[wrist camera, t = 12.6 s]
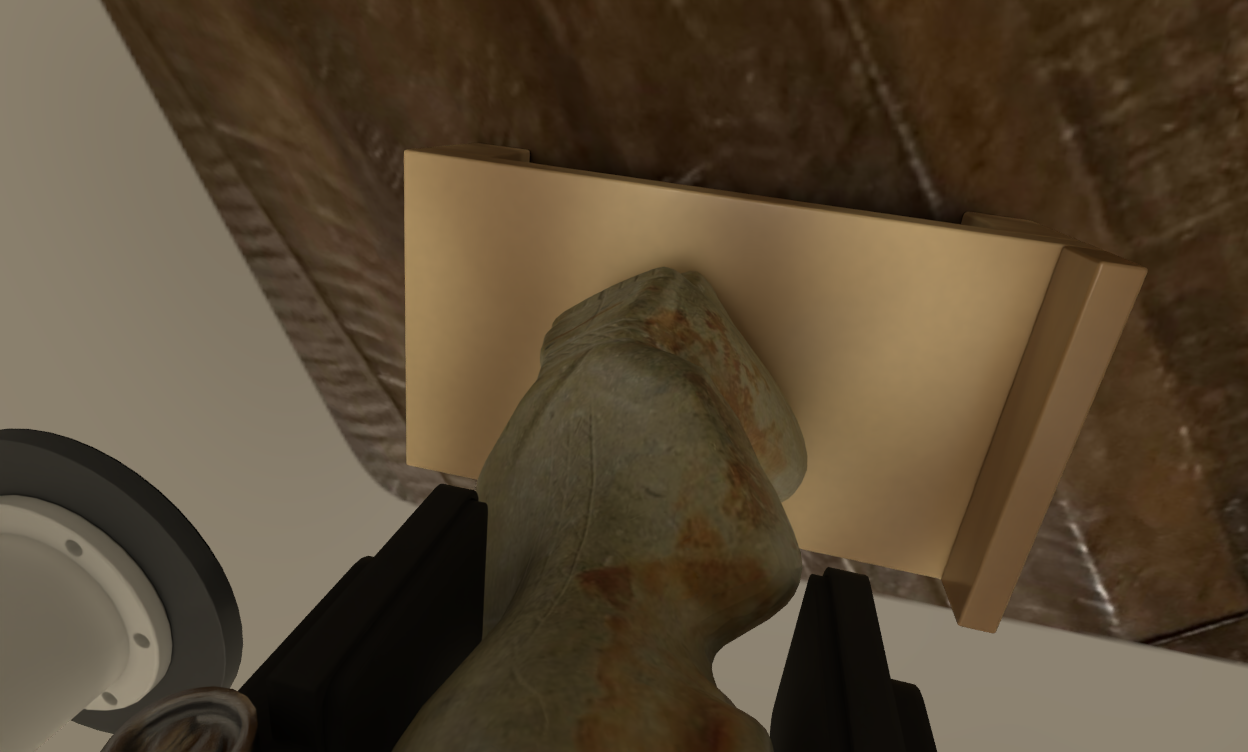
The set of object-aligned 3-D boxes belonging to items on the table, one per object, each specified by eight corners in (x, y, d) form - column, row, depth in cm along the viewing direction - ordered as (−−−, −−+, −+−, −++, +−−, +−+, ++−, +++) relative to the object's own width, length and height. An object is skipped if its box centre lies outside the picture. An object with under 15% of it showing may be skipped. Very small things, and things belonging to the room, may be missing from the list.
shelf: (467, 405, 27) (372, 496, 20) (475, 142, 23) (362, 152, 17) (936, 498, 24) (996, 635, 18) (1032, 220, 21) (1151, 268, 14)
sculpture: (654, 509, 21) (401, 1254, 7) (547, 300, 19) (-41, 772, 6) (840, 453, 19) (964, 1344, 5) (739, 214, 17) (542, 628, 4)
